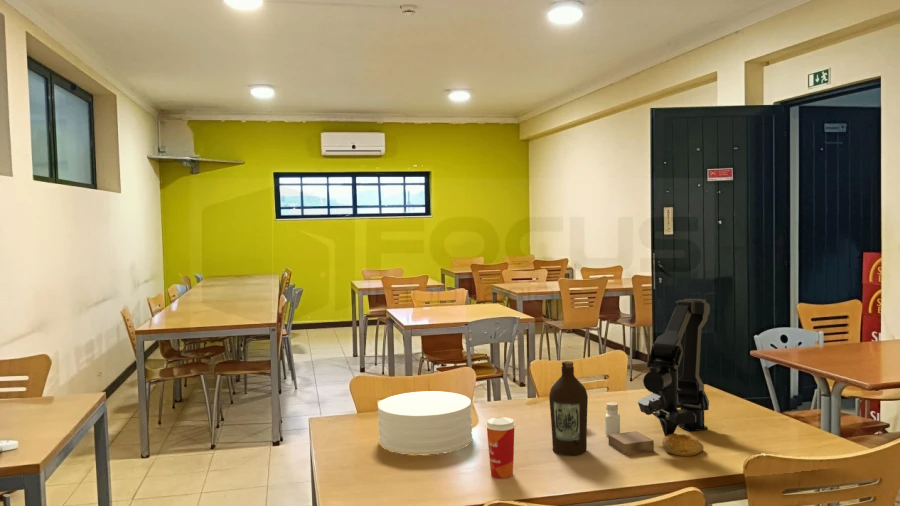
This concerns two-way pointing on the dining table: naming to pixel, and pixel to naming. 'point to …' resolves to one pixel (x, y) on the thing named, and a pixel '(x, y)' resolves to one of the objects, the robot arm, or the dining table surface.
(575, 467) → the dining table surface
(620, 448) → the walnut block
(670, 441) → the bagel
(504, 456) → the paper cup
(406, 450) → the plate stack
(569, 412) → the olive oil
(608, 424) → the pepper shaker
